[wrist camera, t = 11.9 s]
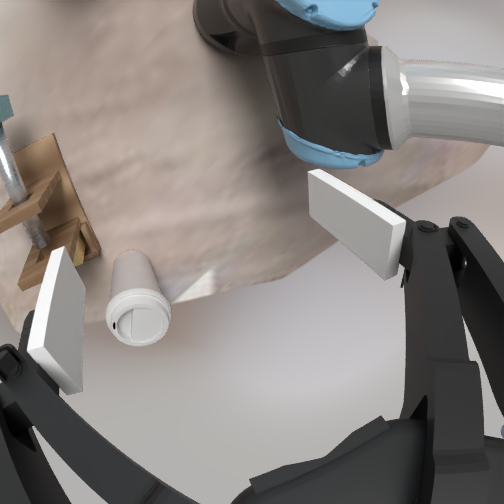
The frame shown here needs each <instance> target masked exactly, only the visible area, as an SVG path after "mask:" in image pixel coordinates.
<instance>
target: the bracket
mask: <svg viewBox="0 0 504 504" xmlns="http://www.w3.org/2000/svg"><path fill="white" fill-rule="evenodd" d="M13 157H14V160H15V162H16V165H17V167H18V170H19V172H20V175H21V177H22V180H23V182H24V185H25V187H26V189H27V192H28V194H29V196H30V199H29V200H27V201H26V202H24V203H22V204H20V205H18V206H16V207H15V206H14V204H13V202H12V200H11V198H10V199H9V201H8V202H7V203H6V204H5V206H4V207H3V208H2V210H1V211H0V233H2V232H4V231H6V230H8V229H9V228H11V227H13V226H15V225H17V224H19V223H21V222H23V221H25V220H27V219H29V218H31V217H33V216H35V215H37V214H38V216H39V218H40V220H41V222H42V224H43V226H44V228H45V230H46V232H47V234H48V236H49V238H50V242H49V244H48V245H47V246H45V247H44V248H42V249H39V250H37V249H36V248H35V246H34V244H33V246H32V248H31V251H30V253H29V255H28V258H27V260H26V263H25V265H24V268H23V271H22V273H21V276H20V279H19V281H18V286H19V287H20V289H21V290H22V291H24V290H26V289H29V288H31V287H33V286H35V285H38V284H40V283H42V282H43V278H44V275H45V272H46V268H47V265H48V262H49V259H50V257H49V258H47V259H44V257H46V256H48V255H51V252H52V251H53V250H56V249H58V248H61V247H63V246H65V248H66V250H67V252H68V254H69V256H70V258H71V260H72V262H73V261H74V255H75V250H76V245H77V240H78V236H79V231H80V227H81V231H82V233H83V235H84V237H85V239H86V246H85V252H84V259H83V262H84V261H87V260H89V259H92V258H94V257H96V256H99V250H100V244H99V242H98V240H97V238H96V236H95V234H94V232H93V230H92V227H91V225H90V223H89V221H88V219H87V216H86V214H85V212H84V210H83V207H82V205H81V203H80V200H79V198H78V196H77V193H76V191H75V188H74V186H73V183H72V181H71V178H70V176H69V173H68V171H67V168H66V165H65V163H64V160H63V157H62V155H61V152H60V149H59V146H58V143H57V141H56V138H55V135H54V133H52V134H50V135H48V136H46V137H44V138H42V139H40V140H38V141H36V142H34V143H32V144H31V145H29V146H27V147H25V148H23V149H21V150H19V151H18V152H16V153H14V154H13Z"/></svg>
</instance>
